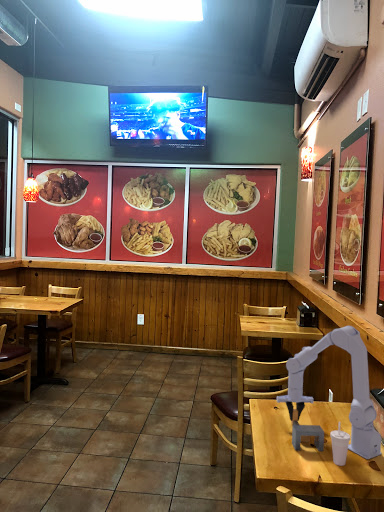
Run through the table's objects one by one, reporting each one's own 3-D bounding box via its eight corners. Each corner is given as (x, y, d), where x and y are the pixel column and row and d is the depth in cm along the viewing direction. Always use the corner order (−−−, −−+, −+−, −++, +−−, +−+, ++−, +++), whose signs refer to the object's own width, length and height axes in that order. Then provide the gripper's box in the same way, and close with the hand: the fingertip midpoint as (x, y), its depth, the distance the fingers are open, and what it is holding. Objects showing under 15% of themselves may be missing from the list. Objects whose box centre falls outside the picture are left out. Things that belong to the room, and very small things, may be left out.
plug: (309, 442, 151) (310, 426, 151) (298, 441, 151) (299, 425, 151) (298, 423, 167) (299, 408, 166) (288, 423, 167) (289, 408, 166)
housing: (323, 451, 145) (324, 431, 144) (295, 450, 145) (295, 431, 144) (319, 444, 150) (319, 425, 149) (291, 443, 150) (292, 424, 149)
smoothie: (325, 459, 139) (326, 419, 138) (339, 456, 142) (341, 416, 141) (338, 469, 133) (340, 427, 133) (353, 465, 136) (355, 424, 135)
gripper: (310, 383, 170) (309, 415, 170) (275, 383, 170) (274, 415, 170) (315, 390, 162) (314, 423, 163) (279, 389, 162) (278, 422, 163)
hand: (294, 419), depth 166 cm, fingers closed on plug, 2 cm apart
